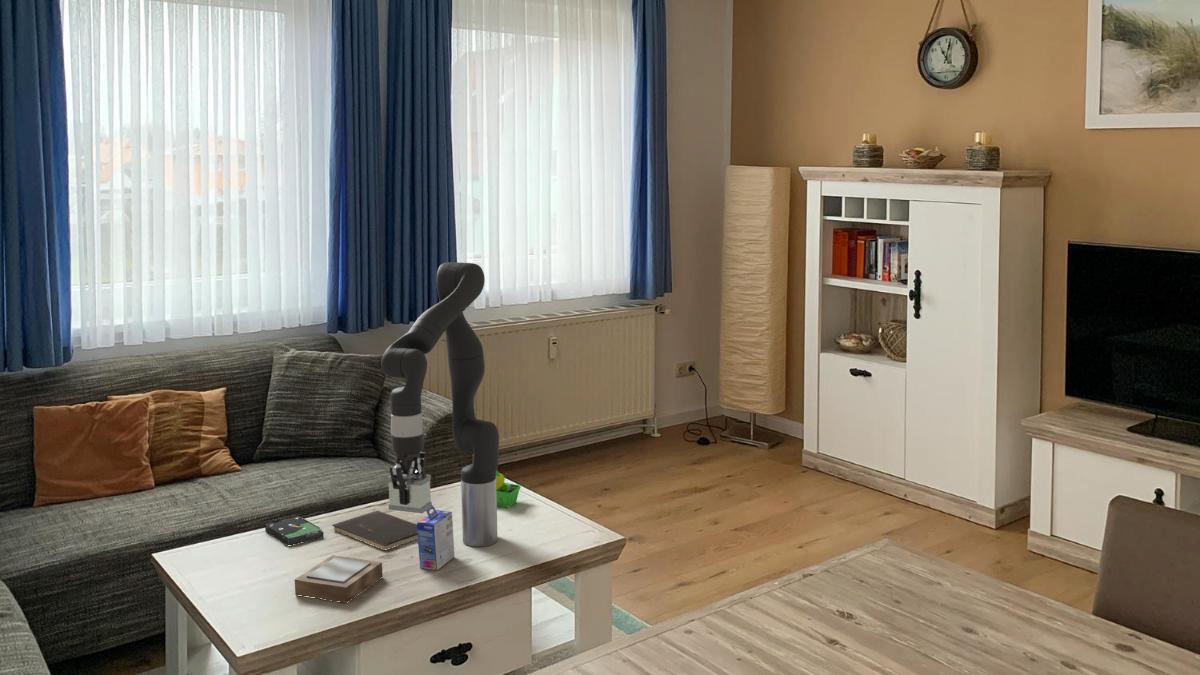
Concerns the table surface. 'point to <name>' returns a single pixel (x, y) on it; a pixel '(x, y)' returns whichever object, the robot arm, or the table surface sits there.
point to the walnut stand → (338, 578)
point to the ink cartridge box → (435, 539)
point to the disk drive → (294, 530)
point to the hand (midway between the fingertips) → (410, 500)
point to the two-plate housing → (412, 494)
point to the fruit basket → (505, 491)
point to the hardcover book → (379, 529)
